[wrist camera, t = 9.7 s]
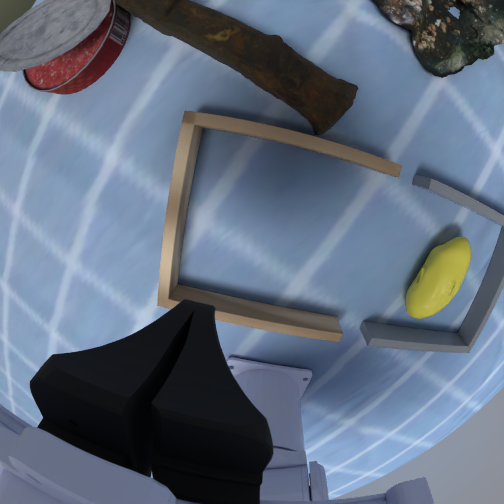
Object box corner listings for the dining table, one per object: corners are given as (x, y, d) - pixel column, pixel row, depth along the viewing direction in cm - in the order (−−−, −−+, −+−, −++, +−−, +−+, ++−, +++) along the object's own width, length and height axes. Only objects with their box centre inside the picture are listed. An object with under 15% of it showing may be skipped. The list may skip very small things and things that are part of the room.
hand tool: (350, 100, 17) (373, 86, 13) (316, 139, 18) (332, 135, 14) (153, -15, 14) (132, -41, 9) (121, 18, 15) (94, -2, 10)
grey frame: (458, 339, 23) (468, 352, 21) (359, 328, 23) (367, 345, 20) (508, 221, 19) (524, 228, 16) (414, 174, 18) (431, 178, 16)
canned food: (72, 51, 19) (19, 3, 9) (152, 10, 17) (103, -59, 7) (40, 135, 18) (-41, 90, 8) (128, 91, 16) (39, 2, 6)
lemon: (387, 292, 22) (405, 317, 18) (444, 219, 19) (471, 233, 16) (413, 314, 22) (431, 338, 19) (466, 247, 20) (491, 263, 16)
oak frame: (333, 324, 23) (339, 342, 20) (167, 290, 22) (157, 305, 20) (386, 163, 18) (401, 165, 16) (194, 115, 18) (184, 110, 15)
